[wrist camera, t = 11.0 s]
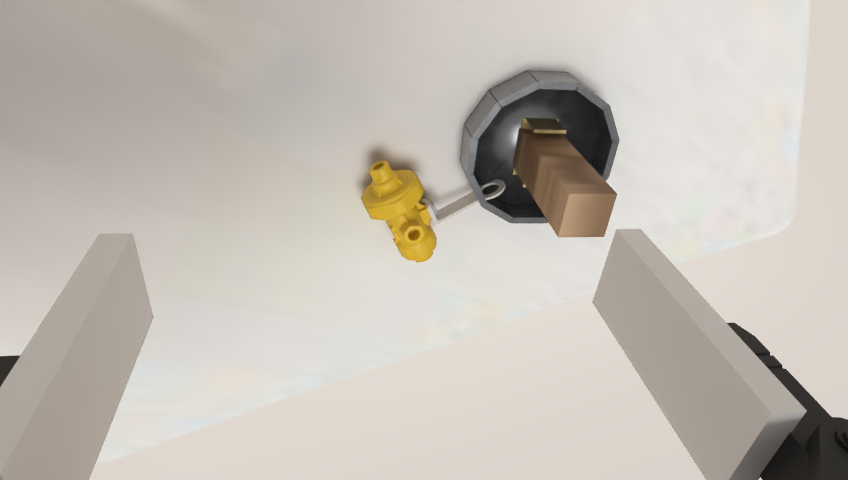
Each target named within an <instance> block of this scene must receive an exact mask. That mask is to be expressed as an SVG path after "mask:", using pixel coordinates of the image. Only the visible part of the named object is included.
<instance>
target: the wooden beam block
mask: <svg viewBox="0 0 848 480" xmlns="http://www.w3.org/2000/svg"><path fill="white" fill-rule="evenodd" d="M513 167H514V168H515V170H516V171H517V173H518V175H519V176H520V178H521V179H522V181H523V182H524V184H525V186H526V187H527V189H528V190H529V192H530V194H531V195H532V197H533V198H534V200H535V201H536V203H537V205H538V206H539V208H540V209H541V211H542V212H543V214H544V216H545V217H546V219H547V220H548V222H549V223H550V225H551V227H552V228H553V230H554V231H555V233H556V235H557V236H558V237H604V235H605V232H606V229H607V225H608V222H609V219H610V216H611V212H612V209H613V206H614V202H615V199H616V196H617V193H616V192H615V191H614V190H613V189H612V188H611V187H610V186H609V185H608V184H607V183H606V181H605V180H604V179H603V178H602V177H601V176H600V175H599V174H598V173H597V172H596V171H595V169H594V168H593V167H592V166H591V165H590V164H589V163H588V162H587V161H586V160H585V159H584V157H583V156H582V155H581V154H580V153H579V152H578V151H577V150H576V149H575V148H574V147H573V145H572V144H571V143H570V142H569V141H568V140H567V139H566V138H565V137H564V136H563V135H562V134H558V133H533V132H532V130H531V129H521V128H519V133H518V139H517V145H516V150H515V156H514V161H513Z"/></svg>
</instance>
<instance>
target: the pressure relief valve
mask: <svg viewBox="0 0 848 480" xmlns="http://www.w3.org/2000/svg"><path fill="white" fill-rule="evenodd" d="M369 173H370V175H371V177H372V179H373V180H372V182H371V184H370V185H369V186H368V187H367V188H366V189H365V191H364V192H363V195H362V197H361V200H362V202H363V204H364V206H365V208H366V210H367V212H368V214H369V215H370V217H371V219H376V220H377V219H378V220H386V222H387V224H388V226H389V227H390V229H391V231H392V233H393V235H394V237H395V238H394V239H393V240H394V242H395V244H396V246H397V248H398V249H399V251H400V253H401V255H402V256H403V257H405V258H406V259H407V260H415V261H416V262H424V261H426V260H428V259H429V258H430V257H431V256H432V255H433V252H432V251H433V250H434V249H435V247H436V239H437V238H436V236H435V233H434V231H433V230H432V228H431V226H430V224H429V220H431V219H432V220H433V223H434V224H438V223H440V222H442V221H444V220H446V219H448V218H450V217H452V216H453V215H455V214H457V213H459V212H461V211H463V210H465V209H467V208H468V207H470V206H472V205H474V204H476V203H478V202H479V201H478V199H477V197H476V195H475V192H474V191H473V192H472V193H470V194H468V195H466V196H464V197H462V198H461V199H459V200H457V201H455V202H453V203H451V204H449V205H447V206H445V207H444V208H442V209H440V210H438V211H437V209H436V207H435V205H434V204H433V202H429V201H428V200H427V199H426V198H425V199H423V200H422V203H423V205H422V204H420V203H419V201H420V199H421V197H422V195H423V193H424V188H423V186H422V184H421V182H420V180H419V178H418V177H417V175H416V174H415V173H414V172H413V171H410V170H396V171H395V170H392V169H391V167H390V165H389V163H388V162H387V161H379V162H377V163H375V164H373V165H372V166H371V167H370V168H369ZM489 185H498V186H499V188H498V189H497V190H496V191H495V192H493V193H491V194H487V195H484V197H485V199H486V200H489V199H492V198H495V197H497V196H499V195H500V194H501V193H502V192H503V191H504V189H505V183H504V182H503V181H502V180H499V179H496V180H494V181H491V182H489V183H486V184H484V185H482V186H479V187H480V189H481V191H482V190H483V189H484V188H485V187H487V186H489Z"/></svg>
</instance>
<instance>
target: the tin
mask: <svg viewBox="0 0 848 480" xmlns="http://www.w3.org/2000/svg"><path fill="white" fill-rule="evenodd" d="M519 128H521V129H531V130H532V132H533V133H558V134H562V135H563V136H564V137H565V138H566V139H567V140H568V141H569V142H570V143H571V144H572V145H573V147H574V148H575V149H576V150H577V151H578V152H579V153H580V154H581V155H582V156H583V157H584V159H585V160H586V161H587V162H588V163H589V164H590V165H591V166H592V167H593V168H594V169H595V171H596V172H597V173H598V174H599V175H600V176H601V177H602V178H603V179H604V180H605V181H606V180H607V179H608V177H609V175H610V172H611V168H612V165H613V161H614V158H615V154H616V151H617V147H618V144H619V137H618V133H617V130H616V126H615V122H614V119H613V115H612V112H611V108H610V106H609V104H607V103H606V102H605V101H604V100H602V99H601V98H600V97H599V96H597V95H596V94H595V93H593V92H592V91H591V90H589V89H588V88H587V87H585V86H584V85H583V84H582V83H580V82H579V81H578V80H576V79H575V78H574V77H572V76H571V75H570V74H568V73H567V72H550V71H525V72H523V73H521V74H519V75H517V76H515V77H513V78H511V79H509V80H507V81H505V82H503V83H501V84H499V85H498V86H496V87H494V88H492V89H490V90H489V91H488V92H487V93H486V94H485V96H484V97H483V99H482V100H481V101H480V103H479V104H478V105H477V107H476V108H475V110H474V111H473V112H472V114H471V115H470V117H469V118H468V119H467V121H466V122H465V123H464V130H463V138H462V146H461V154H460V163H461V165H462V167H463V169H464V172H465V174H466V176H467V178H468V180H469V182H470V184H471V186H472V188H473V190H474V192H475V195H476V197H477V199H478V201H479V203H480V205H481V206H482V207H483V208H485V209H486V210H488V211H490V212H492V213H494V214H495V215H497V216H499V217H501V218H502V219H504V220H506V221H508V222H509V223H549V222H548V220H547V219H546V217H545V216H544V214H543V212H542V211H541V209H540V208H539V206H538V205H537V203H536V201H535V200H534V198H533V197H532V195H531V194H530V192H529V190H528V189H527V187H526V186H525V184H524V182H523V181H522V179H521V178H520V176H519V175H518V173H517V171H516V170H515V168H514V167H513V161H514V156H515V150H516V145H517V139H518V133H519ZM496 179H499V180H502V181H503V182H504V183H505V189H504V191H503V192H502V193H501V194H500V195H499V196H497V197H495V198H492V199H489V200H486V199H485V197H484V195H487V194H491V193H493V192H495V191H496V190H497V189H498V188H499V186H498V185H489V186H487V187H485V188H484V189H483V190H482V191H481V189H480V187H479V186H482V185H484V184H486V183H489V182H491V181H494V180H496Z"/></svg>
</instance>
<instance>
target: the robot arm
mask: <svg viewBox="0 0 848 480" xmlns="http://www.w3.org/2000/svg"><path fill="white" fill-rule="evenodd" d="M593 304H594V305H595V307H596V309H597V310H598V312H599V313H600V315H601V316H602V318H603V320H604V321H605V323H606V324H607V326H608V327H609V329H610V330H611V332H612V334H613V335H614V337H615V338H616V340H617V341H618V343H619V344H620V346H621V347H622V349H623V351H624V352H625V354H626V355H627V357H628V359H629V360H630V362H631V363H632V365H633V366H634V368H635V369H636V371H637V372H638V374H639V376H640V377H641V379H642V380H643V382H644V384H645V385H646V387H647V388H648V390H649V391H650V393H651V394H652V396H653V397H654V399H655V401H656V402H657V404H658V405H659V407H660V408H661V410H662V412H663V413H664V415H665V416H666V418H667V419H668V421H669V422H670V424H671V425H672V427H673V429H674V430H675V432H676V433H677V435H678V437H679V438H680V440H681V441H682V443H683V444H684V446H685V447H686V449H687V450H688V452H689V454H690V455H691V457H692V458H693V460H694V462H695V463H696V465H697V466H698V468H699V469H700V471H701V472H702V474H703V475H704V477H705V479H706V480H758V479H759V478H760V477H761V478H762V480H848V420H847V419H843V418H834V417H831V416H830V415H829V414H828V413H827V412H826V411H825V410H824V409H823V408H822V407H821V406H820V404H819V403H818V402H817V401H816V400H815V399H814V398H813V397H812V396H811V395H810V394H809V393H808V392H807V391H806V390H805V389H804V388H803V387H802V386H801V385H800V384H799V382H798V381H797V380H796V379H795V378H794V377H793V376H792V375H791V374H790V373H789V372H788V371H787V370H786V369H783V368H782V364H781V363H779V361H778V360H777V359H776V358H775V357H774V356H770V352H769V351H768V350H767V349H766V348H765V347H764V346H763V345H762V344H761V342H760V341H759V340H758V339H757V338H756V337H755V336H753V335H752V334H750V333H749V332H747V331H746V330H744V329H743V328H741V327H740V326H738V325H737V324H735V323H726V322H725V321H724V320H723V319H722V318H721V317H720V316H719V314H718V313H717V312H716V311H715V310H714V309H713V308H712V307H711V306H710V305H709V303H708V302H707V301H706V300H705V299H704V298H703V297H702V296H701V295H700V294H699V293H698V291H697V290H696V289H695V288H694V287H693V286H692V285H691V284H690V283H689V282H688V281H687V279H686V278H685V277H684V276H683V275H682V274H681V273H680V272H679V271H678V270H677V269H676V267H675V266H674V265H673V264H672V263H671V262H670V261H669V260H668V259H667V258H666V257H665V255H664V254H663V253H662V252H661V251H660V250H659V249H658V248H657V247H656V246H655V245H654V243H653V242H652V241H651V240H650V239H649V238H648V237H647V236H646V235H645V234H644V233H643V231H642V230H641V229H616V232H615V235H614V238H613V241H612V244H611V247H610V251H609V254H608V257H607V260H606V263H605V266H604V269H603V272H602V275H601V278H600V281H599V284H598V287H597V290H596V293H595V297H594V299H593ZM152 319H153V314H152V310H151V306H150V302H149V298H148V294H147V290H146V286H145V282H144V278H143V274H142V270H141V266H140V262H139V258H138V253H137V249H136V245H135V241H134V237H133V234H99V235H98V237H97V238H96V240H95V241H94V243H93V244H92V246H91V247H90V249H89V251H88V252H87V254H86V255H85V257H84V258H83V260H82V261H81V263H80V264H79V266H78V268H77V269H76V271H75V272H74V274H73V275H72V277H71V278H70V280H69V282H68V283H67V285H66V286H65V288H64V289H63V291H62V292H61V294H60V295H59V297H58V299H57V300H56V302H55V303H54V305H53V306H52V308H51V309H50V311H49V312H48V314H47V316H46V317H45V319H44V320H43V322H42V323H41V325H40V326H39V328H38V329H37V331H36V333H35V334H34V336H33V337H32V339H31V340H30V342H29V343H28V345H27V346H26V348H25V350H24V351H23V353H22V354H21V356H0V480H89V478H90V475H91V473H92V470H93V468H94V465H95V463H96V460H97V458H98V455H99V453H100V450H101V448H102V445H103V443H104V440H105V438H106V435H107V433H108V430H109V428H110V425H111V423H112V420H113V418H114V415H115V413H116V410H117V407H118V405H119V402H120V400H121V397H122V395H123V392H124V390H125V387H126V385H127V382H128V380H129V377H130V375H131V372H132V370H133V367H134V365H135V362H136V360H137V357H138V355H139V352H140V350H141V347H142V344H143V342H144V339H145V337H146V334H147V332H148V329H149V327H150V324H151V322H152Z"/></svg>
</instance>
